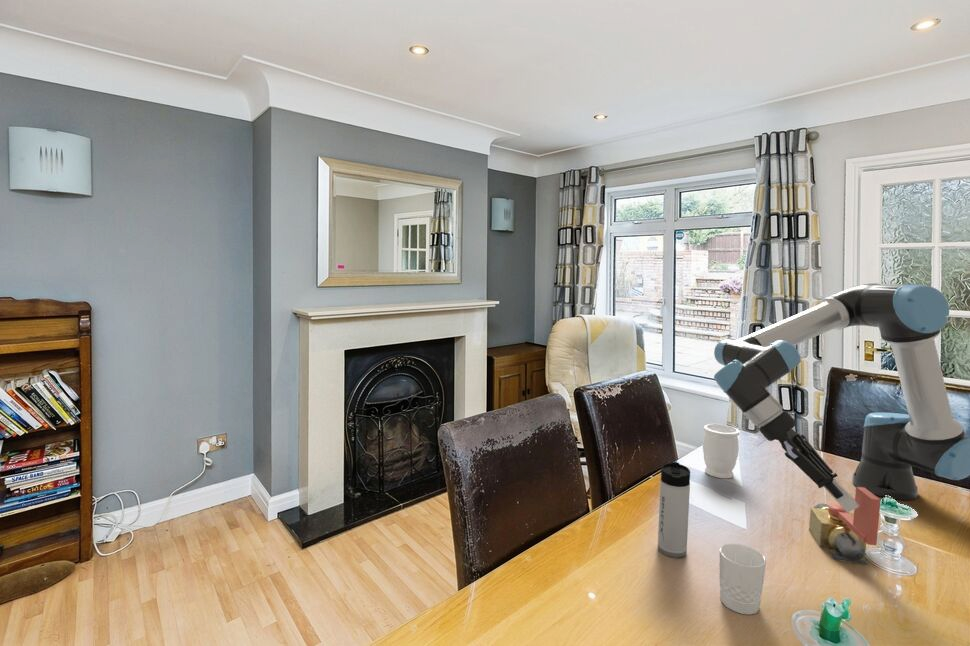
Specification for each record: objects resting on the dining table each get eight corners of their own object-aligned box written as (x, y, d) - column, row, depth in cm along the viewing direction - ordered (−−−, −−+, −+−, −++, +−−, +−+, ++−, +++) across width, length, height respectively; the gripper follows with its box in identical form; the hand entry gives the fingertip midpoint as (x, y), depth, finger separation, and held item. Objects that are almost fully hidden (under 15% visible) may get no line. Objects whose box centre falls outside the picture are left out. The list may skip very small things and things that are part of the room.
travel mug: (685, 545, 115) (689, 463, 113) (687, 560, 109) (691, 474, 107) (657, 540, 117) (661, 459, 115) (657, 555, 111) (661, 470, 109)
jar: (741, 481, 150) (744, 434, 149) (705, 478, 152) (708, 432, 151) (731, 468, 161) (734, 424, 159) (698, 466, 163) (700, 422, 161)
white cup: (709, 591, 98) (711, 544, 97) (746, 589, 99) (749, 542, 98) (731, 618, 90) (735, 567, 89) (772, 616, 91) (775, 565, 90)
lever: (861, 544, 103) (865, 498, 102) (824, 508, 118) (827, 468, 117) (882, 546, 102) (887, 500, 101) (843, 510, 118) (846, 470, 117)
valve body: (802, 520, 127) (804, 495, 126) (842, 526, 124) (844, 500, 124) (827, 560, 109) (830, 531, 108) (875, 568, 106) (878, 538, 106)
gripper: (763, 421, 122) (840, 505, 113) (750, 434, 112) (834, 527, 103) (789, 404, 118) (871, 490, 109) (778, 416, 108) (868, 512, 99)
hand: (853, 508), depth 106 cm, fingers closed
